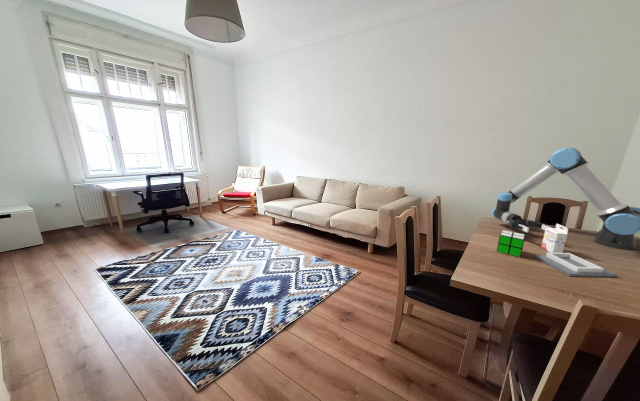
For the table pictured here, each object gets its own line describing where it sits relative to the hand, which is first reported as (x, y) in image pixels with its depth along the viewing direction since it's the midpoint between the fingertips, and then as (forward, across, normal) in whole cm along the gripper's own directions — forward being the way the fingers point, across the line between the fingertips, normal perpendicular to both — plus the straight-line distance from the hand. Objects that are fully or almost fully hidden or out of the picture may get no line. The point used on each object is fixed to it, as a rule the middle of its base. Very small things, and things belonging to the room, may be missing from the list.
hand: (540, 230), depth 132 cm
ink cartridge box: (+9, 0, -9) cm, 12 cm away
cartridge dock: (+26, +6, -8) cm, 28 cm away
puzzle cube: (+11, +24, -9) cm, 27 cm away
